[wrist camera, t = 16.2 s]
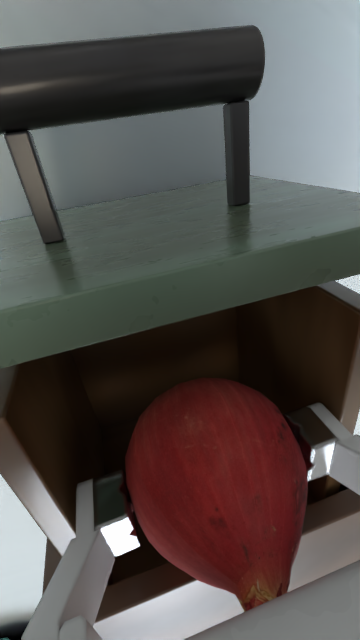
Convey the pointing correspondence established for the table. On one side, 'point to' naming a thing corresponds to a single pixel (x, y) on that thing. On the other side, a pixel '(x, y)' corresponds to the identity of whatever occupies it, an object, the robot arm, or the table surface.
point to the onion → (220, 486)
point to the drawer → (158, 273)
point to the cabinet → (210, 602)
